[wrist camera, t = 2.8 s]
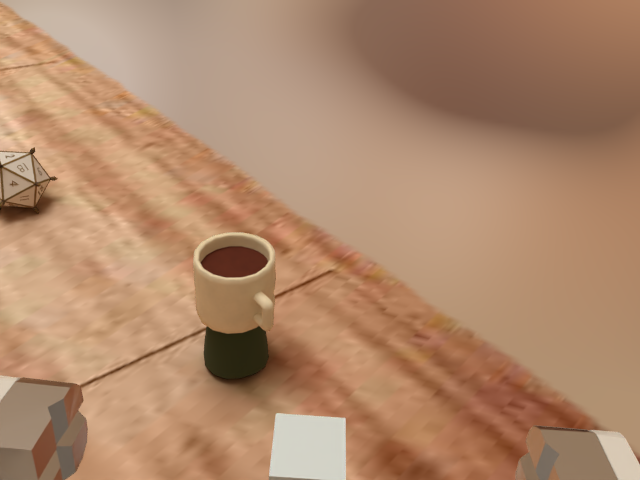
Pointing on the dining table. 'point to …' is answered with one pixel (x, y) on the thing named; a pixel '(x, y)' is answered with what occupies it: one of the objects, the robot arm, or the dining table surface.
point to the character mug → (235, 301)
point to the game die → (21, 179)
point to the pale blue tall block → (308, 448)
